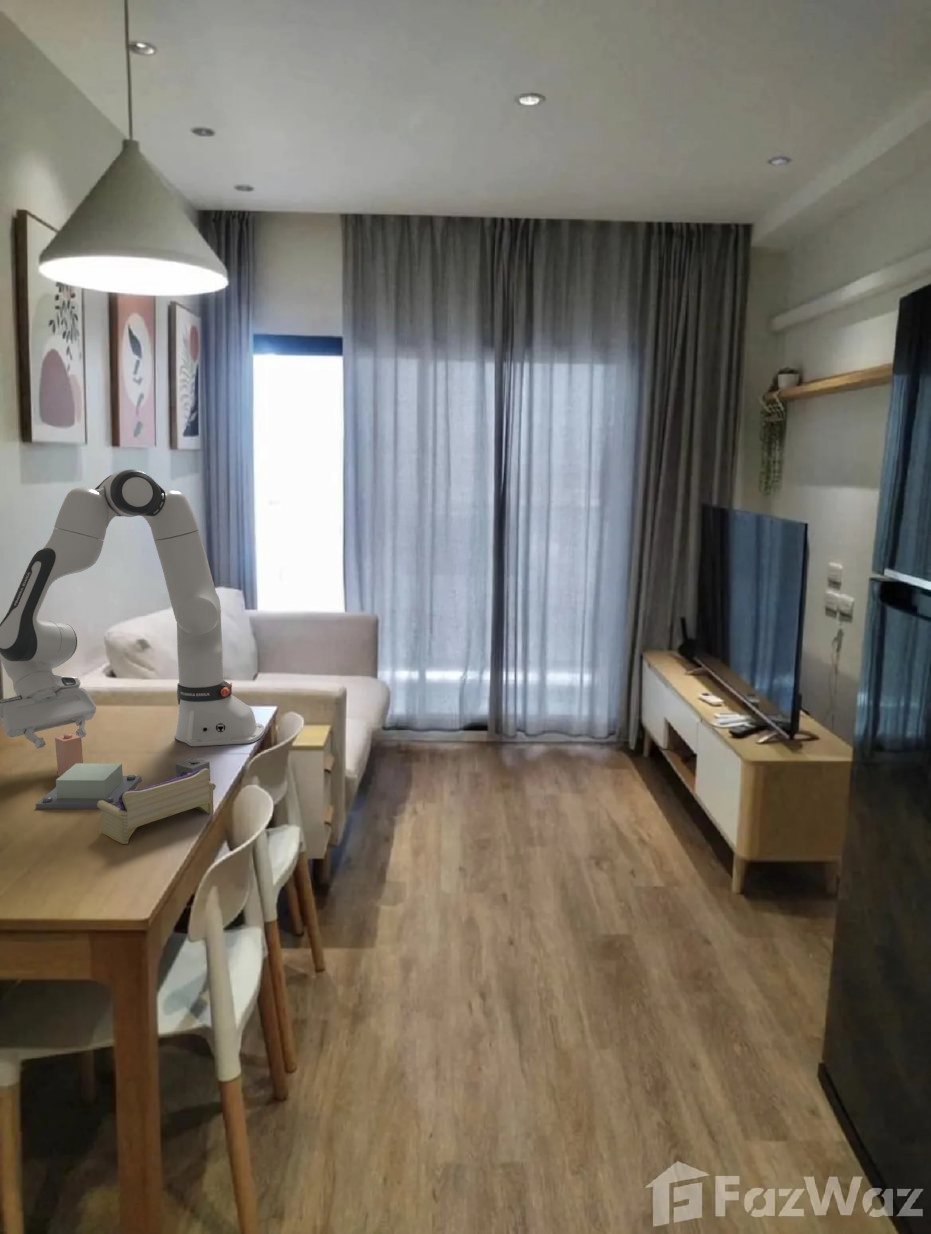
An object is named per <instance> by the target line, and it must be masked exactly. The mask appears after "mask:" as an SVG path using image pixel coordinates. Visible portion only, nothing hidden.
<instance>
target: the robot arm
mask: <svg viewBox="0 0 931 1234" xmlns="http://www.w3.org/2000/svg"><path fill="white" fill-rule="evenodd" d="M137 516H139V517H143V519H144V520H145V521H146V522H147V524H148V526H149V527H150V531H151V534H152V538H153V541H154V545H155V548H156V551H157V554H158V558H159V562H160V565H161V568H162V573H163V575H164V580H165V584H166V588H167V593H168V596H169V600H170V604H171V607H172V612H173V615H174V619H175V621H176V637H177V638H176V640H177V641H176V643H177V650H176V651H177V671H178V672H177V673H178V682H177V686H176V687H177V688H176V697H177V703H178V705H179V706H178V721H177V727H176V730H175V735H174V737H175V740H177V741H179V742H182V743H186V744H187V746H190V747H203V746H204V747H205V746H206V747H207V746H219V745H220V746H222V745H223V746H224V745H242V744H250V743H254V742H257V740H259V739H261V738H262V737H263V735H264V734H265V726H264V725H263V724H262V723H258V722H257V723H256V717H255V714H254V711H253V709H252V707H251V706H250V705H248V704H247V703H245V702H243V701H242V700H241V699H239V698H237V697H236V696H234V695H233V692H232V691H233V690H232V689H233V688H232V687H233V682H230V683H229V682H227V681H226V680H224V660H223V658H224V657H223V656H224V655H223V640H222V639H223V638H222V610H221V609H222V608H221V600H220V597H219V594H218V593H217V591H216V587H215V584H214V580H213V576H212V572H211V569H210V564H209V560H208V557H207V553H206V550H205V547H204V543H203V539H202V536H201V532H200V528H199V526H198V521H197V519H196V516H195V513H194V511H193V509H192V507H191V505H190V503H189V500H188V499H187V497H186V496H185V494H183V493H182V492H181V491H178V490H173V489H166V490H164V488H162V486H161V485H160V484H158V483H157V482H156V480H154V478H152V477H151V476H150V474H147V473H146V472H144V471H142V470H140V469H122V470H119V471H116V472H114V473H113V474H110V475H109V476H107V477H106V478H105V479H103V480H102V482H101V483H100V484H99V485H97V486H96V487H95V488H91V487H85V486H84V487H82V486H81V487H75V488H73V489H71V490H69V491H68V493H67V495H66V496H65V497H64V500H63V502H62V505H61V506H60V509H59V512H58V513H57V517H56V519H55V523H54V526H53V531H52V533H51V535H50V538H49V540H48V541H47V543H46V544H45V546H44V547H43V548H41V549H39V550H38V551H37V552H36V553H34V555H33V557H32V558H31V559H30V562H29V564H28V565H27V568H26V569H25V572H24V574H23V576H22V579H21V581H20V584H19V586H18V588H17V590H16V593H15V595H14V597H13V600H12V602H11V604H10V607H9V609H8V611H7V613H6V615H5V616H4V617H3V619H2V621H1V622H0V660H1V663H2V665H3V668H4V670H5V672H6V673H5V674H6V675H7V676H8V678H9V679H10V680H11V681H12V685H13V690H14V692H15V694H16V696H12V697H8V698H1V699H0V721H1V725H2V728H3V731H4V734H5V735H6V736H8V737H9V738H16V737H20V736H25V739H27V740H28V741H30V742H32V743H33V744H34V746H35V747H36V749H42V748H45V746H46V741H45V739H44V737H39V736H38V735H36V734H35V733H37V732H41V731H42V732H43V731H46V730H51V729H54V728H59V727H63V726H68V725H71V724H75V725H76V726H77V727H79V728H77V729H76V731H75V735H78V736H80V737H81V739H82V738H85V737H86V736H87V732H86V730H85V729H86V728H85V725H86V721H90V720H92V719H93V717H94V716H95V714H96V712H97V705H96V704H95V702H94V700H93V697H92V696H91V695H90V694H89V692H88V690H87V689H86V688H85V687H82V686H80V685H81V680H80V679H79V678H78V677H76V676H62V675H57V674H54V673H53V669H55V668H57V667H59V666H61V665H63V664H64V663H65V662H67V661H68V660H69V659H71V658H72V657H73V655H74V654H75V652H76V651H77V647H78V637H77V634H76V632H75V629H73V627H72V625H69V624H67V623H64V622H59V621H52V620H43V619H38V614H39V612H40V610H41V608H42V605H43V603H44V600H45V598H46V596H47V594H48V591H49V589H50V587H51V586H52V584H53V583H54V582H55V581H57V580H58V579H60V578H63V577H65V576H67V575H68V576H69V575H73V574H77V573H81V572H84V571H86V570H89V569H90V568H91V567H92V566H94V565H95V564H96V563H97V561H98V560H99V558H100V556H101V553H102V549H103V545H104V542H105V537H106V534H107V528H108V527H109V525H110V523H111V521H112V520H113V519H114V518H116V517H126V518H132V517H137Z"/></svg>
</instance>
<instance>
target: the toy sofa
mask: <svg viewBox="0 0 931 1234" xmlns="http://www.w3.org/2000/svg"><path fill="white" fill-rule="evenodd" d="M209 778H210V779H211V769H210V770H209V769H207V768H204V769H201V770H198V771H195V772H192V773H188V774H187V775H185V776H182V777H178V778H177V777H175V778H172V779H170V780H167V781H164V782H161V783H157V784H154V785H150V786H146V787H141V788H137V789H135V788H134V789H133V790H130V791H126V792H123V793H122V794H121V795H120V796H119V805H118V806H117V807H116V806H114V805H112V804H110V803H107V802H105V801H103V800H100V801H99V802H98V803H97V807H98V808H100V809H99V810H100V823H101V833H102V834H103V835H104V836H107V837H109V838H110V839H113V840H114V841H117V842H118V843H120V844H122V845H128V844H129V840H130V838H131V836H132V835H133V834H134V832H135V831H136V829H137V828H138V827H141V826H143V825H147V824H150V823H152V822H156V821H159V820H162V819H165V818H168V817H171V816H174V815H176V814H179V813H183V812H186V811H189V810H193V809H194V808H195V809H197V810H199V811H202V812H204V813H207V814H208V815H213V814H214V812H215V811H214V791H215V789H216V787H217V786H216V784H215V782H212V781H211V780H210V781H209Z"/></svg>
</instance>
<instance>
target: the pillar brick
mask: <svg viewBox="0 0 931 1234" xmlns="http://www.w3.org/2000/svg"><path fill="white" fill-rule="evenodd" d="M54 740H55V741H54V742H55V753H56V766H57V776H58V777H60V776H61V775H63V774H64V773H65V772H66V771H67V770H69V769H70V768H71V767H72V766H74V765H75V764H76V763H84V757H83V755H84V754H83V743H82V738H81V737H80V736H78V735H76V733H65V734H63V735H60V736H55V737H54Z"/></svg>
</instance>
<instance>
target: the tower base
mask: <svg viewBox="0 0 931 1234" xmlns="http://www.w3.org/2000/svg"><path fill="white" fill-rule="evenodd" d="M142 780H143V777H142V775H135V774H129V775H123V763H95V762H94V763H91V762H89V763H85V762H83V763H76V764H75V765H74V766H72V767H71V768H70V769H69V770H67V771H66V772H65V773H64V774H63V775H61V776H58V777H57V778H56V779H55V787H54V788H53V789H52V790H50V791H49V792H48V793H47V794H46V795H45V796H43V797H42V798H41V799H40V800H39V801H38V802H36V803H35V809H36V810H37V809H38V810H39V809H40V810H41V809H42V810H43V809H51V810H52V809H53V810H54V809H55V810H58V809H60V810H63V809H65V810H66V809H68V810H70V809H71V810H75V809H76V810H77V809H78V810H83V809H85V810H88V809H89V810H92V809H93V810H101V809H100V808H98V807H97V803H98V802H99V801H100V800H103V801H105V802H107V803H110V804H112V805H114V806H116V807H118V806H120V804H119V796H120V795H121V794H122V793H123V792H126V791H130V790H135V788H136V787H137V786H138V785H139V784H140V783H141V781H142Z"/></svg>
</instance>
